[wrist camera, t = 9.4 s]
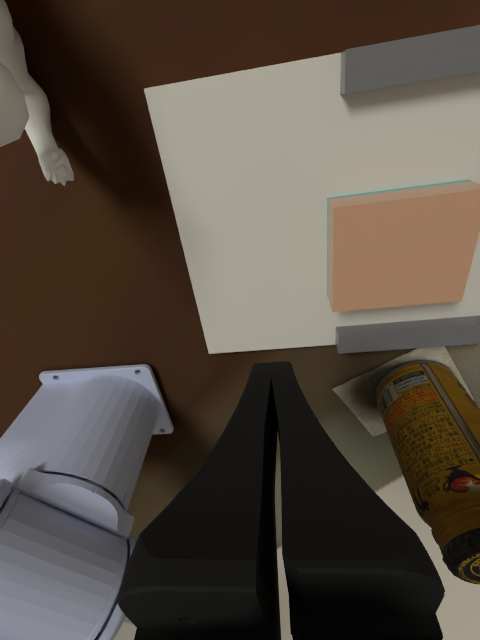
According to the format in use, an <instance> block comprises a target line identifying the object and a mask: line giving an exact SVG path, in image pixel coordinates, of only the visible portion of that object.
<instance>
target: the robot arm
mask: <svg viewBox="0 0 480 640" xmlns="http://www.w3.org/2000/svg"><path fill="white" fill-rule="evenodd" d="M137 370H140V371H141V372H140V371H137ZM39 378H40V380H41V382H42V383H43V385H42V386H41V388H40V389H39V390H38V391H37V393H36V394H35V395H34V396H33V398H32V399H31V400H30V402H29V403H28V404H27V405H26V407H25V408H24V409H23V410H22V412H21V413H20V414H19V416H18V417H17V418H16V419H15V421H14V422H13V423H12V424H11V426H10V427H9V428H8V430H7V431H6V432H5V433H4V435H3V436H2V437H1V438H0V640H113V639H114V638H115V636H116V634H117V633H118V631H119V629H120V627H121V625H122V623H123V621H124V619H125V617H126V616H127V617H128V619H129V620H130V621H131V622H132V623H133V624H134V625H135V626H136V627H137V630H136V634H135V638H134V640H281V628H280V609H279V589H278V568H277V545H276V521H275V472H276V451H277V428H278V435H279V442H280V458H281V497H282V555H283V561H284V568H285V574H286V580H287V587H288V592H289V608H290V627H291V634H292V637H293V640H442V639H443V635H442V631H441V628H440V625H439V622H438V619H437V616H436V611H437V609H438V607H439V605H440V603H441V601H442V599H443V597H444V592H445V590H444V587H443V584H442V581H441V579H440V576H439V574H438V572H437V570H436V568H435V566H434V564H433V562H432V560H431V558H430V556H429V554H428V553H427V551H426V549H425V547H424V546H423V544H422V542H421V541H420V539H419V537H418V536H417V534H416V533H415V532H414V531H413V530H412V529H411V528H410V527H409V526H408V525H407V524H406V523H405V522H404V521H403V520H402V519H401V518H400V517H399V516H398V515H396V513H395V512H394V511H393V510H391V508H389V507H388V506H387V505H386V504H385V503H384V502H383V500H382V499H381V498H380V497H379V496H378V495H377V494H376V493H375V492H374V491H373V490H372V489H371V488H370V487H369V486H368V484H367V483H366V482H365V481H364V480H363V479H362V478H361V476H360V475H359V474H358V473H357V472H356V471H355V470H354V468H353V467H352V466H351V465H350V464H349V463H348V461H347V460H346V459H345V458H344V456H343V455H342V454H341V452H340V451H339V450H338V449H337V447H336V446H335V445H334V443H333V442H332V440H331V439H330V438H329V436H328V435H327V433H326V432H325V430H324V429H323V427H322V426H321V424H320V423H319V421H318V420H317V418H316V416H315V415H314V413H313V411H312V410H311V408H310V406H309V404H308V402H307V401H306V399H305V397H304V395H303V393H302V391H301V389H300V387H299V384H298V382H297V380H296V377H295V374H294V371H293V368H292V364H291V363H290V362H273V363H258V364H254V365H253V366H252V369H251V373H250V376H249V379H248V382H247V384H246V387H245V389H244V392H243V394H242V396H241V398H240V401H239V403H238V405H237V407H236V409H235V411H234V413H233V415H232V417H231V419H230V421H229V422H228V424H227V426H226V428H225V430H224V431H223V433H222V435H221V436H220V438H219V440H218V441H217V443H216V444H215V446H214V447H213V449H212V450H211V452H210V453H209V455H208V456H207V458H206V459H205V460H204V462H203V463H202V464H201V466H200V467H199V469H198V470H197V471H196V473H195V474H194V475H193V476H192V478H191V479H190V480H189V481H188V482H187V484H186V485H185V486H184V487H183V488H182V489H181V491H180V492H179V493H178V494H177V495H176V497H175V498H174V499H173V500H172V501H171V502H170V503H169V504H168V506H167V507H166V508H165V509H164V510H163V511H162V512H161V513H160V514H159V515H158V516H157V517H156V518H155V519H154V520H153V521H152V522H151V523H150V524H149V525H148V526H147V527H146V528H145V529H144V530H143V531H142V532H141V533H140V535H139V537H138V539H137V541H136V539H135V538H134V537H133V536H131V535H129V534H130V531H131V528H132V525H133V521H134V517H132V516H130V515H129V514H127V513H126V511H127V508H128V505H129V502H130V499H131V496H132V494H133V491H134V488H135V485H136V482H137V479H138V476H139V473H140V470H141V467H142V464H143V461H144V458H145V455H146V452H147V449H148V446H149V443H150V440H151V437H152V434H170V433H172V432H173V430H174V427H173V424H172V421H171V419H170V416H169V413H168V411H167V408H166V405H165V403H164V400H163V397H162V395H161V392H160V390H159V387H158V384H157V382H156V379H155V376H154V374H153V371H152V368H151V367H150V366H149V365H146V364H140V365H126V366H112V367H98V368H84V369H70V370H55V371H44V372H42V373H41V374H40V375H39Z"/></svg>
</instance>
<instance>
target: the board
mask: <svg viewBox="0 0 480 640" xmlns="http://www.w3.org/2000/svg"><path fill="white" fill-rule="evenodd" d="M144 92H145V96H146V100H147V104H148V108H149V112H150V116H151V120H152V124H153V128H154V132H155V136H156V140H157V144H158V149H159V153H160V157H161V161H162V165H163V169H164V173H165V177H166V181H167V185H168V189H169V193H170V197H171V201H172V205H173V210H174V214H175V218H176V222H177V226H178V230H179V234H180V238H181V242H182V246H183V250H184V254H185V258H186V262H187V267H188V271H189V275H190V279H191V283H192V287H193V291H194V295H195V299H196V303H197V307H198V311H199V315H200V319H201V323H202V328H203V332H204V336H205V340H206V344H207V348H208V352H209V354H213V353H227V352H240V351H254V350H268V349H281V348H295V347H309V346H323V345H336V349H337V352H338V354H341V353H355V352H370V351H384V350H398V349H413V348H427V347H442V346H456V345H470V344H480V232H479V236H478V240H477V244H476V248H475V252H474V255H473V259H472V263H471V267H470V271H469V275H468V279H467V283H466V287H465V291H464V294H463V298H462V301H458V302H446V303H435V304H423V305H411V306H400V307H388V308H376V309H365V310H353V311H341V312H332V309H331V306H330V303H329V300H328V297H327V198H329V197H336V196H344V195H352V194H360V193H367V192H375V191H383V190H391V189H398V188H406V187H414V186H422V185H429V184H437V183H445V182H452V181H460V180H471V181H474V182H476V183H479V184H480V25H477V26H472V27H466V28H461V29H455V30H450V31H444V32H439V33H434V34H428V35H423V36H417V37H412V38H406V39H401V40H395V41H390V42H385V43H379V44H374V45H368V46H363V47H357V48H352V49H346V50H344V51H343V52H341V53H337V54H332V55H326V56H321V57H315V58H310V59H304V60H299V61H293V62H288V63H282V64H277V65H271V66H266V67H260V68H255V69H249V70H244V71H239V72H233V73H228V74H222V75H217V76H211V77H206V78H200V79H195V80H189V81H184V82H178V83H173V84H167V85H162V86H156V87H151V88H146V89H144Z"/></svg>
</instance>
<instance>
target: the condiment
mask: <svg viewBox="0 0 480 640" xmlns="http://www.w3.org/2000/svg"><path fill="white" fill-rule="evenodd" d="M374 379H376V380H374ZM332 390H333V391H334V392H335V393H336V394H337V395H338V396H339V397H340V399H341V400H342V401H343V402H344V403H345V404H346V405H347V406H348V408H349V409H350V410H351V411H352V412H353V414H354V415H355V416H357V418H358V419H359V421H360V422H361V423H362V425H363V426H364V427H365V428H366V429H367V431H368V432H369V433H370V434H371V435H372V436H373V437H374V436H376V435H380V434H383V433H385V432H388V435H389V438H390V441H391V443H392V446H393V449H394V451H395V454H396V457H397V459H398V462H399V465H400V467H401V470H402V473H403V475H404V478H405V481H406V483H407V486H408V489H409V491H410V494H411V497H412V499H413V502H414V504H415V507H416V510H417V512H418V514H419V516H420V517H421V518H422V519H423V521H425V523H427V524H428V525H429V526H430V527H431V528H432V530H431V531H432V535H433V537H434V539H435V541H436V543H437V544H438V545H439V547H440V550H441V553H442V555H443V561H444V563H445V564H446V565H447V567H448V569H449V570H450V571H451V572H452V574H453V575H454V576H456V577H458V578H460V579H461V580H464V581H466V582H469V583H473V584H480V410H479V409H478V407H477V406H476V404H475V402H474V401H473V400H474V398H473V396H472V394H471V392H470V391H469V389H468V387H467V385H466V384H465V382H464V380H463V378H462V376H461V375H460V373H459V371H458V369H457V368H456V366H455V364H454V362H453V360H452V359H451V357H450V355H449V353H448V351H447V349H446V348H445V346H442V347H427V348H417V349H415V350H413V351H411V352H410V353H407V354H404V355H401V356H399V357H397V358H395V359H394V360H391V361H389V362H387V363H385V364H383V365H381V366H379V367H377V368H376V369H374V370H372V371H370V372H367V373H364V374H363V375H360V376H357V377H355V378H353V379H351V380H350V381H348V382H346V383H345V384H343V385H340V386H338V387H335V388H333V389H332Z"/></svg>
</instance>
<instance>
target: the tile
mask: <svg viewBox="0 0 480 640" xmlns="http://www.w3.org/2000/svg"><path fill="white" fill-rule="evenodd" d="M479 232H480V184H479V183H476V182H474V181H471V180H460V181H452V182H445V183H437V184H429V185H422V186H414V187H406V188H398V189H391V190H383V191H375V192H367V193H360V194H352V195H344V196H336V197H329V198H327V297H328V300H329V303H330V306H331V309H332V312H341V311H353V310H365V309H376V308H388V307H400V306H411V305H423V304H435V303H446V302H458V301H462V298H463V294H464V291H465V287H466V283H467V279H468V275H469V271H470V267H471V263H472V259H473V255H474V252H475V248H476V244H477V240H478V236H479Z"/></svg>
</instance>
